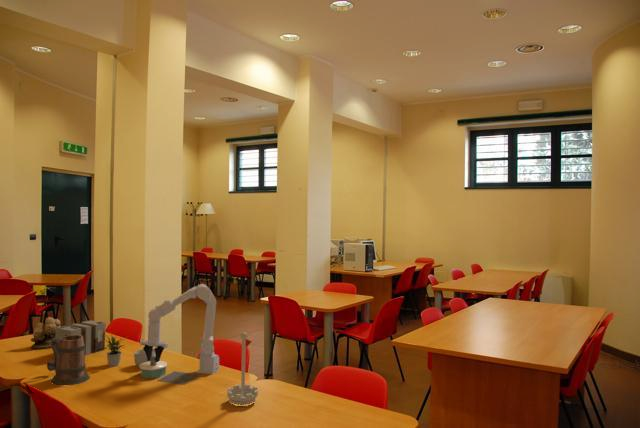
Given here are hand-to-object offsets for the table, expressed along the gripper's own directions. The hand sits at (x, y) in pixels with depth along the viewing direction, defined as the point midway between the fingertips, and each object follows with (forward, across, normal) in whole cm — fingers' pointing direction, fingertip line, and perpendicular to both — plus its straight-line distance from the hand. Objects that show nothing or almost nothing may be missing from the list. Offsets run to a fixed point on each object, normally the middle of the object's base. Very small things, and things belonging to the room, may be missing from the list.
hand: (153, 361), depth 242 cm
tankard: (+7, -35, -18) cm, 41 cm away
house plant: (+7, -30, +6) cm, 31 cm away
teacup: (+7, -12, +12) cm, 19 cm away
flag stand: (+7, +56, -16) cm, 58 cm away
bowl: (+7, 0, 0) cm, 7 cm away
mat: (+7, +14, 0) cm, 16 cm away
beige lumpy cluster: (+7, -86, +22) cm, 90 cm away
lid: (+2, 0, 0) cm, 2 cm away
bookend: (+7, -60, +17) cm, 62 cm away
